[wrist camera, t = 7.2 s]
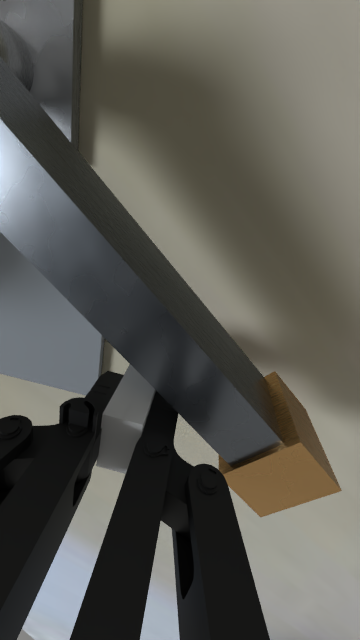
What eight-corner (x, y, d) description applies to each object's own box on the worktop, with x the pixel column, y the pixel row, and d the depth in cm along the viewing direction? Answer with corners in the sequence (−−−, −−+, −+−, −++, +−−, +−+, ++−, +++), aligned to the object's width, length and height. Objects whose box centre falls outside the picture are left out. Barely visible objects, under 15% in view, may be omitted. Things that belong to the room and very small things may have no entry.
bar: (-149, 7, 9) (-415, -138, 5) (-108, -117, 8) (-425, -433, 4) (246, 436, 15) (256, 518, 11) (309, 407, 14) (346, 489, 10)
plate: (-62, 210, 17) (-73, 210, 16) (112, 250, 17) (108, 252, 16) (-36, 359, 22) (-43, 363, 22) (99, 393, 22) (95, 398, 21)
